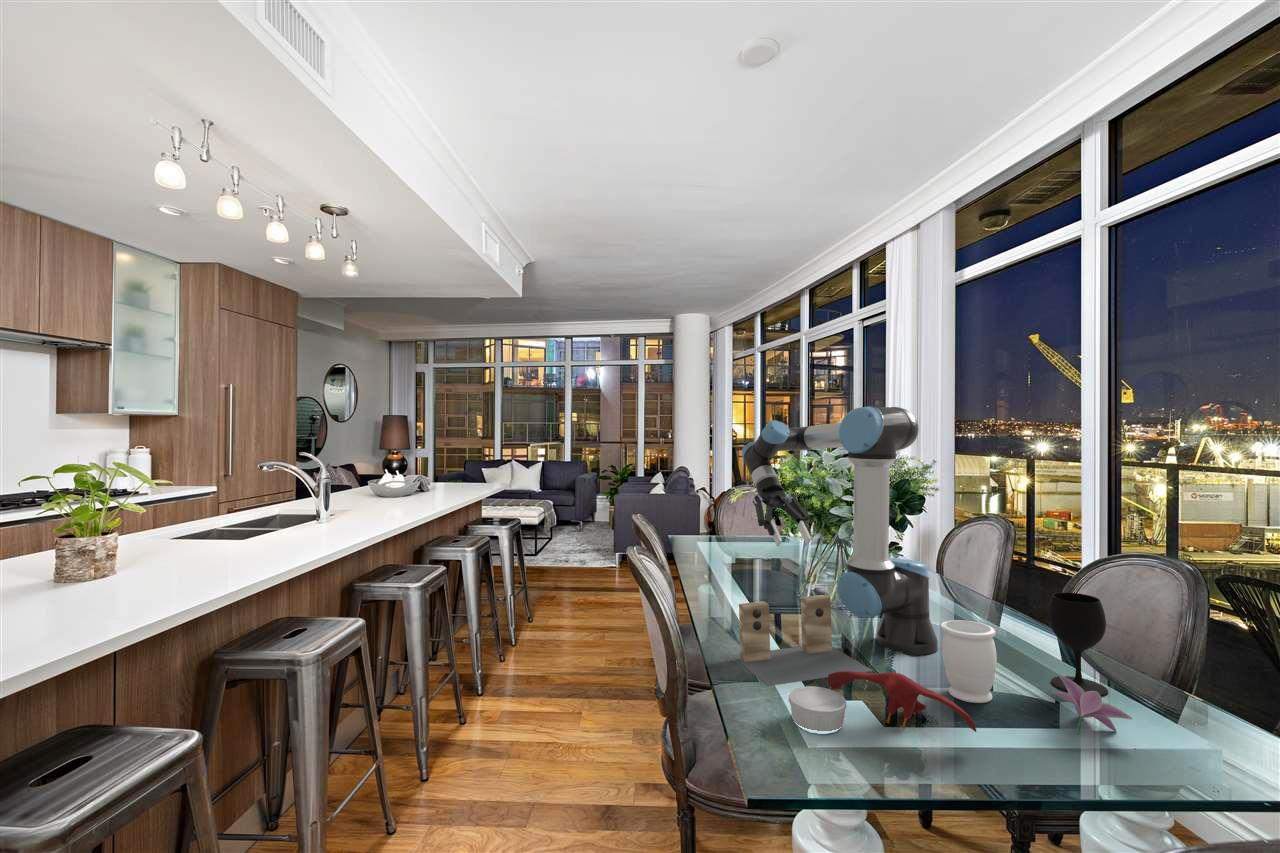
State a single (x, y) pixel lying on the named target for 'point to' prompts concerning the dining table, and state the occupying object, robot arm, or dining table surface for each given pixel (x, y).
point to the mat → (800, 665)
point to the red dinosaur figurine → (898, 692)
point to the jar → (969, 659)
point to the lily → (1090, 704)
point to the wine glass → (1077, 631)
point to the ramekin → (817, 708)
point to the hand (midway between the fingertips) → (794, 542)
